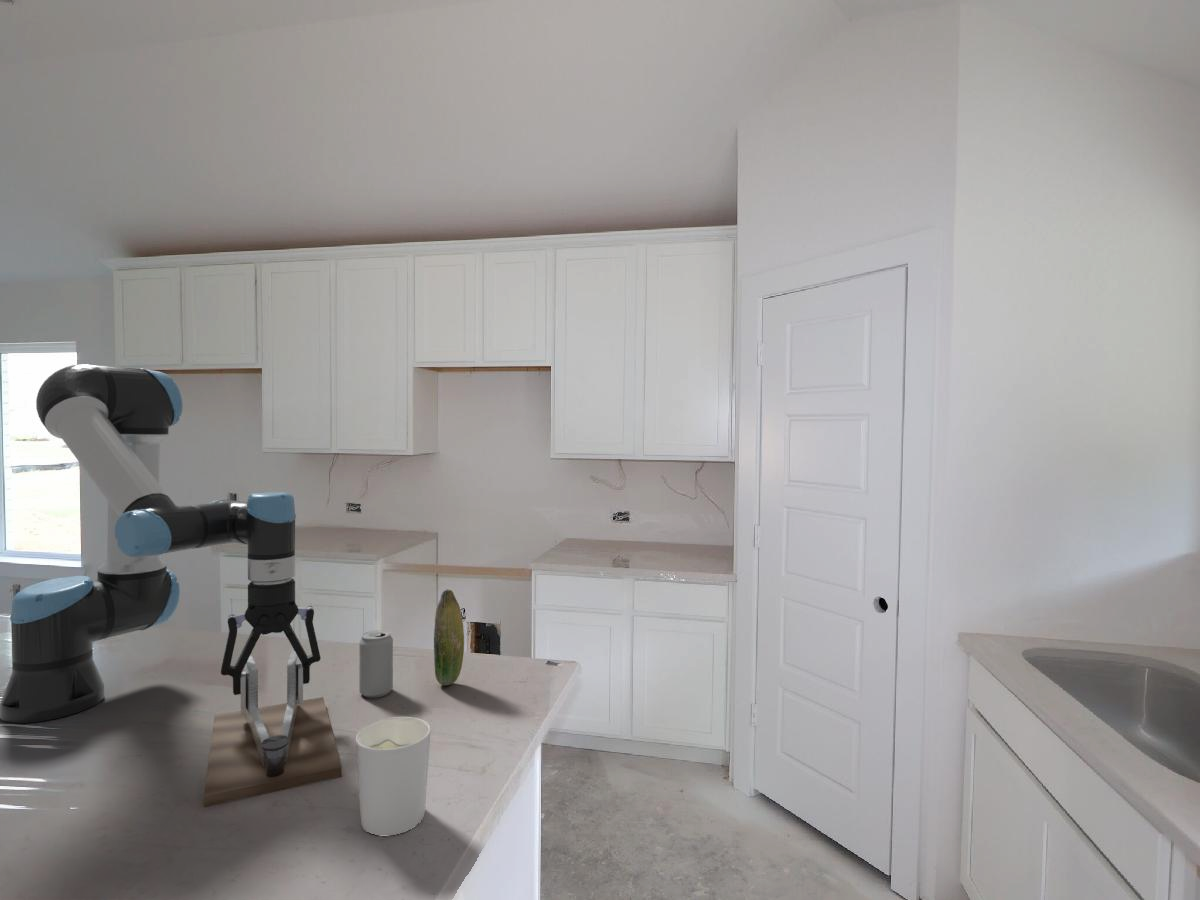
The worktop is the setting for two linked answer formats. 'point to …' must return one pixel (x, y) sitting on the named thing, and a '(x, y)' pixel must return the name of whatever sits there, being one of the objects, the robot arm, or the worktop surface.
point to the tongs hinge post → (275, 754)
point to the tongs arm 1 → (254, 708)
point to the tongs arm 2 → (290, 700)
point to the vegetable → (448, 639)
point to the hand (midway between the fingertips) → (272, 706)
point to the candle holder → (392, 774)
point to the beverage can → (376, 663)
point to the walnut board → (239, 762)
